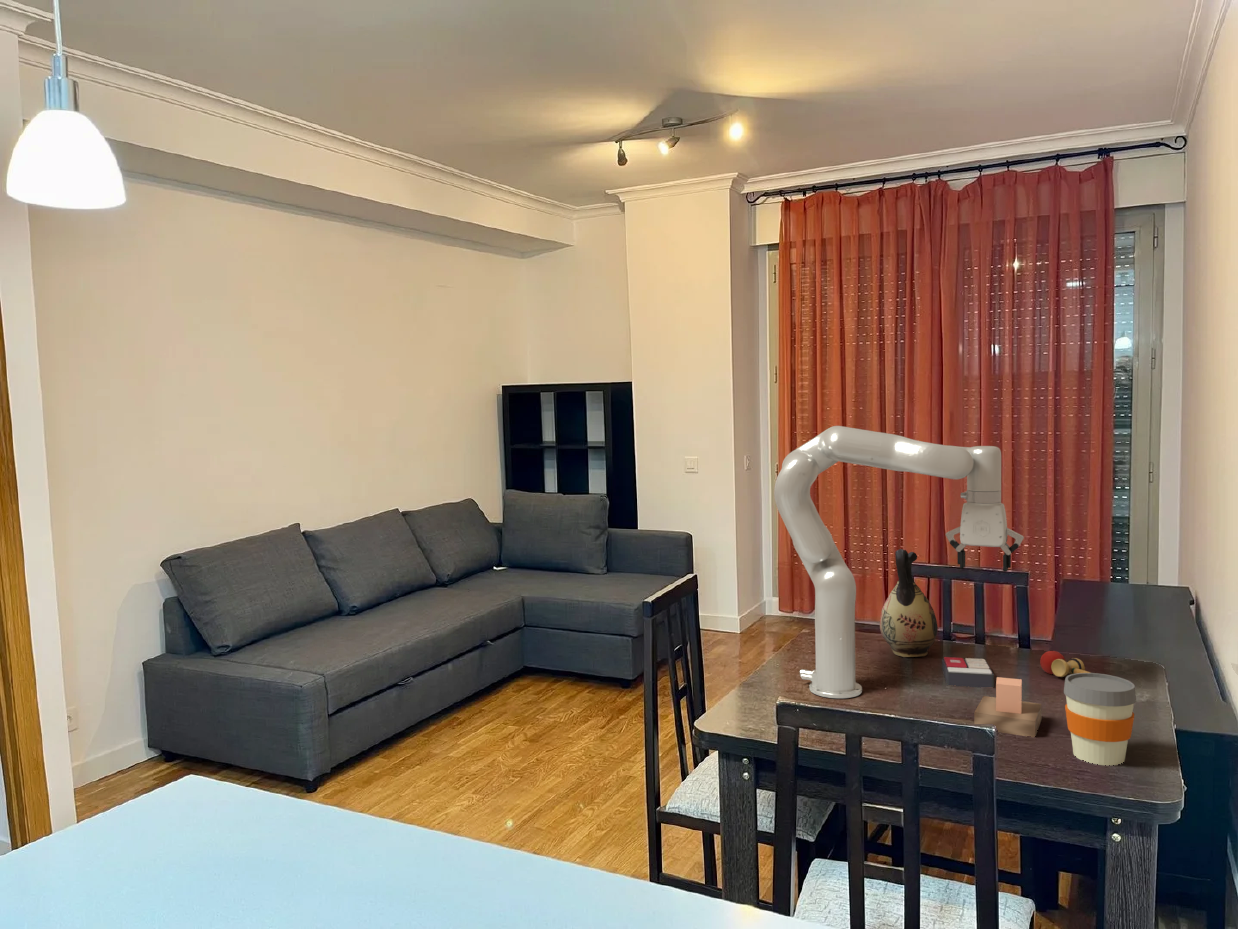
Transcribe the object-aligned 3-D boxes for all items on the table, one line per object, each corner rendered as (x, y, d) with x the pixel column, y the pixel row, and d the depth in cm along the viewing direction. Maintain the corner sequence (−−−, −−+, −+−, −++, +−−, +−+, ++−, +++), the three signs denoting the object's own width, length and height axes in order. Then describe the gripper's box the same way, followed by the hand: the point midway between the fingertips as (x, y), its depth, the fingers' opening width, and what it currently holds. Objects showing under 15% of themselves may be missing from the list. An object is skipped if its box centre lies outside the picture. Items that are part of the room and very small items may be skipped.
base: (974, 730, 193) (974, 712, 192) (983, 713, 203) (983, 696, 203) (1035, 740, 187) (1035, 721, 186) (1041, 721, 197) (1041, 704, 197)
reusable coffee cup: (1071, 740, 185) (1072, 669, 184) (1140, 753, 177) (1141, 679, 176) (1056, 759, 175) (1056, 684, 174) (1128, 775, 167) (1129, 696, 166)
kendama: (1117, 692, 218) (1054, 663, 234) (1118, 669, 216) (1054, 642, 232) (1095, 702, 215) (1033, 673, 231) (1096, 679, 213) (1032, 651, 229)
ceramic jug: (887, 643, 261) (887, 542, 259) (942, 650, 253) (942, 545, 251) (871, 658, 246) (871, 551, 244) (929, 665, 238) (929, 554, 236)
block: (996, 711, 193) (996, 683, 192) (996, 703, 197) (996, 677, 197) (1021, 713, 191) (1021, 686, 190) (1021, 706, 195) (1021, 679, 195)
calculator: (986, 657, 233) (994, 671, 219) (986, 674, 233) (994, 689, 219) (941, 655, 236) (946, 669, 222) (941, 671, 236) (946, 686, 222)
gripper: (942, 498, 213) (942, 569, 214) (1021, 500, 204) (1021, 574, 205) (949, 495, 220) (949, 564, 221) (1025, 497, 211) (1025, 569, 212)
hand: (983, 569), depth 213 cm, fingers open, 9 cm apart
